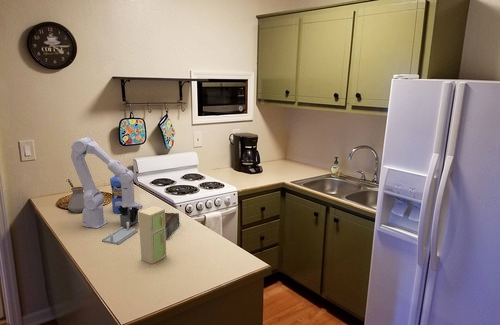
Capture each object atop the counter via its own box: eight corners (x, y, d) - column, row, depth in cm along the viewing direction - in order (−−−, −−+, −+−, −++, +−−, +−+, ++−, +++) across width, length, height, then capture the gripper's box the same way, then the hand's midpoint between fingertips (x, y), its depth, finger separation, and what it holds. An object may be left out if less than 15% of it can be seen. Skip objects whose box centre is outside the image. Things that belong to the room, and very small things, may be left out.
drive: (120, 226, 172) (119, 215, 171) (131, 220, 180) (131, 209, 179) (127, 227, 171) (127, 216, 170) (138, 221, 179) (137, 210, 178)
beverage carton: (150, 239, 161) (149, 226, 159) (165, 223, 179) (164, 211, 178) (167, 240, 160) (166, 227, 158) (180, 224, 179) (179, 212, 177)
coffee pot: (94, 210, 194) (91, 184, 191) (72, 215, 187) (69, 188, 183) (80, 201, 209) (78, 176, 206) (59, 205, 201) (56, 180, 198)
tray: (102, 241, 157) (101, 231, 156) (121, 229, 170) (121, 220, 169) (119, 244, 155) (118, 234, 154) (137, 232, 168) (137, 222, 167)
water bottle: (126, 214, 190) (123, 169, 184) (109, 214, 190) (106, 169, 184) (132, 208, 199) (130, 165, 193) (116, 208, 199) (113, 165, 193)
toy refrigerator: (153, 265, 138) (151, 215, 133) (140, 260, 142) (138, 211, 137) (168, 257, 145) (166, 209, 140) (155, 252, 148) (153, 205, 144)
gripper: (110, 195, 171) (112, 221, 174) (136, 199, 167) (137, 225, 170) (119, 191, 177) (121, 216, 180) (144, 194, 173) (145, 220, 176)
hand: (129, 220), depth 175 cm, fingers closed on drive, 4 cm apart
